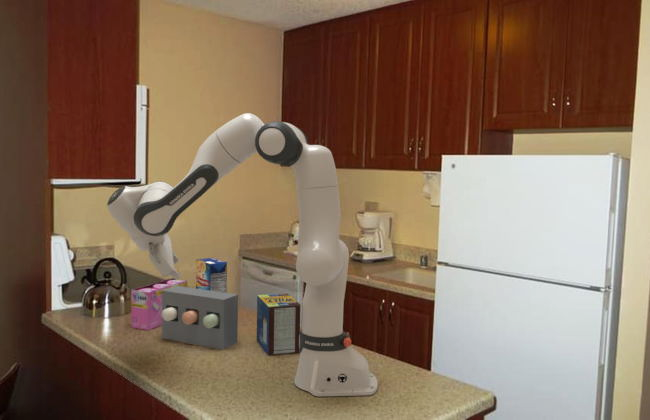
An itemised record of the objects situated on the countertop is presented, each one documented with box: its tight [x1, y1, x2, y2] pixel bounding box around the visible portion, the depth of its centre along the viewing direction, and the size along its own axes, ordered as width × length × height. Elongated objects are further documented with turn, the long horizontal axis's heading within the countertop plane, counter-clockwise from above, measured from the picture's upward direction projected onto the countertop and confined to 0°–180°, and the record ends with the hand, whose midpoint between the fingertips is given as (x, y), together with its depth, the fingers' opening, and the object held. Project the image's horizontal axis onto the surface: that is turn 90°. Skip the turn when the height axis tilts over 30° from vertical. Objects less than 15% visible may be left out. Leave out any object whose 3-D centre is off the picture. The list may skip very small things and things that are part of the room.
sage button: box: [203, 313, 220, 328], centre depth 177 cm, size 4×4×4 cm
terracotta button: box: [182, 309, 199, 325], centre depth 180 cm, size 4×4×4 cm
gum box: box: [130, 277, 188, 331], centre depth 206 cm, size 24×8×14 cm, turn 157°
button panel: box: [161, 286, 239, 351], centre depth 185 cm, size 24×8×16 cm, turn 66°
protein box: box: [256, 292, 302, 356], centre depth 181 cm, size 10×15×16 cm
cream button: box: [162, 306, 178, 321], centre depth 184 cm, size 4×4×4 cm
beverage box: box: [195, 257, 228, 293], centre depth 209 cm, size 7×11×22 cm, turn 40°
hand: (177, 269), depth 170 cm, fingers open, 8 cm apart
